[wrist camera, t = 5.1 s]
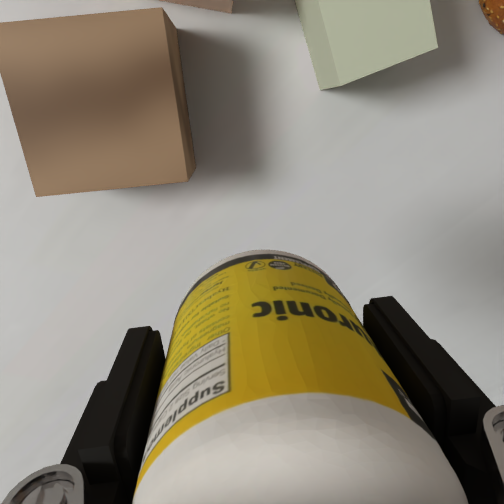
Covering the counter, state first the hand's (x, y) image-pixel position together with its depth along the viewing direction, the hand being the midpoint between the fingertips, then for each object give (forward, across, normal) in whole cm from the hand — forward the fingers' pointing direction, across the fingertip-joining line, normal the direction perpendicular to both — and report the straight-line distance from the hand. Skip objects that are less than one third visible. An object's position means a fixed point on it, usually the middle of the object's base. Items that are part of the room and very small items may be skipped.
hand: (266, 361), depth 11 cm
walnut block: (+17, +6, -7) cm, 20 cm away
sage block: (+17, -8, -10) cm, 21 cm away
